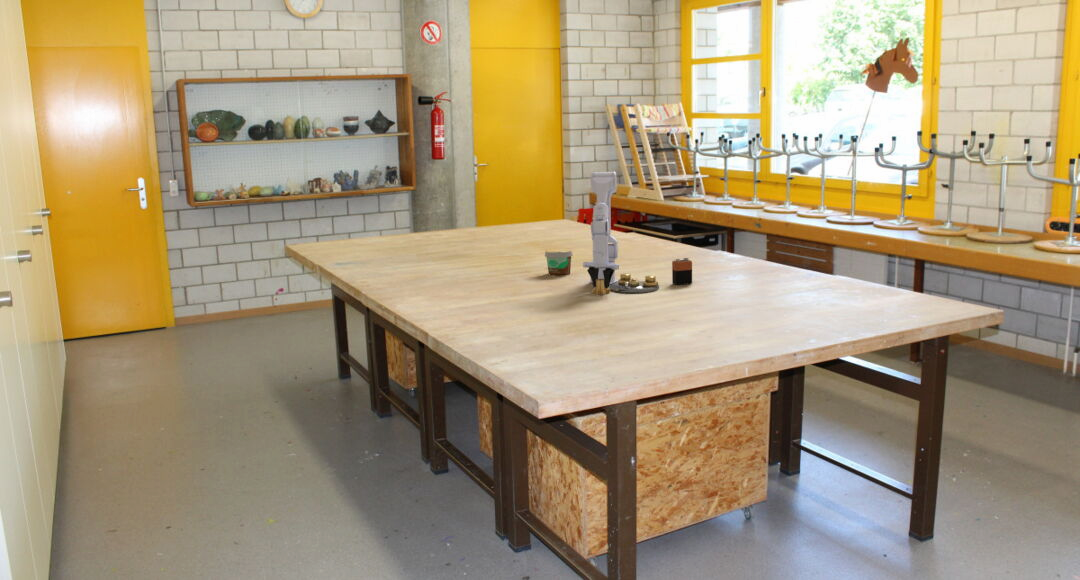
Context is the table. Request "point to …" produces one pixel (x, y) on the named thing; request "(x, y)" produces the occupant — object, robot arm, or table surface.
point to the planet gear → (600, 287)
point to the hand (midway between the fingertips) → (601, 287)
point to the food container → (559, 262)
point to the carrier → (634, 285)
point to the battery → (682, 271)
